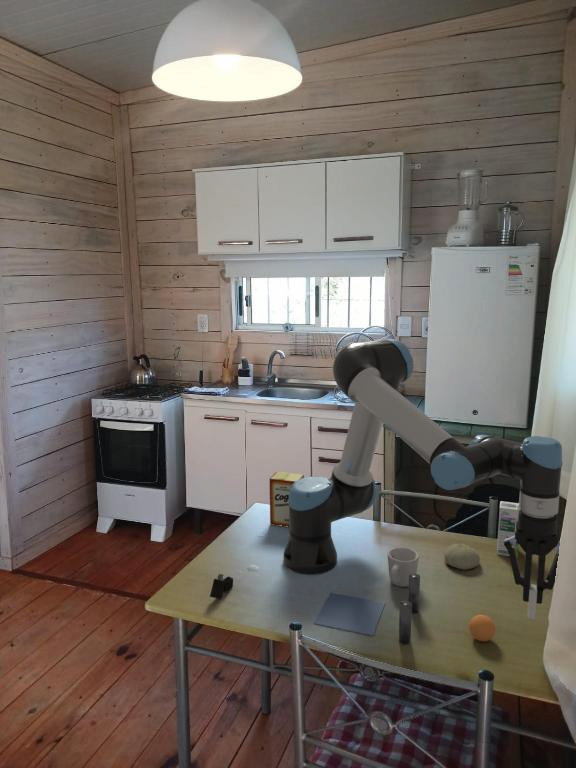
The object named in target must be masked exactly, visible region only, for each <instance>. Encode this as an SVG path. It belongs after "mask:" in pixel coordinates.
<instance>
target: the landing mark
mask: <svg viewBox="0 0 576 768" xmlns="http://www.w3.org/2000/svg"><path fill="white" fill-rule="evenodd" d="M385 604H386V602H384V601H379V600H373V599H367V598H363V597H357V596H352V595H347V594H341V593H334V592H331V591H330V593H329V594H328V596H327V598H326V599H325V602H324V603H323V605H322V607H321V609H320V611H319V613H318V614H317V616H316V618H315V620H314V622H313V625H317V626H321V627H322V626H323V627H326V626H327V627H326V628H331V627H333V628H332V629H336V628H338V629H337V630H341V629H342V630H341V631H346V632H350V631H351V632H352V633H356V634H360V635H361V634H362V635H366V636H370V637H373V636H374V634H375V632H376V630H377V629H376V628H377V626H378V623H379V621H380V618H381V615H382V613H383V610H384V608H385ZM351 632H350V633H351Z"/></svg>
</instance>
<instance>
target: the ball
mask: <svg viewBox="0 0 576 768" xmlns="http://www.w3.org/2000/svg"><path fill="white" fill-rule="evenodd" d="M468 629H469V632H470V635H471V636H472V637H473V638H474V639H475V640H477V641H479V642H488V641H490V640H492V639H493V637H494V636H495V634H496V633H495V632H496V625H495V622H494V621H493V620H492V618H490V617H489V616H488V615H485V614H477V615H475V616H473V617H472V618H471V620H470V622H469V625H468Z"/></svg>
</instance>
